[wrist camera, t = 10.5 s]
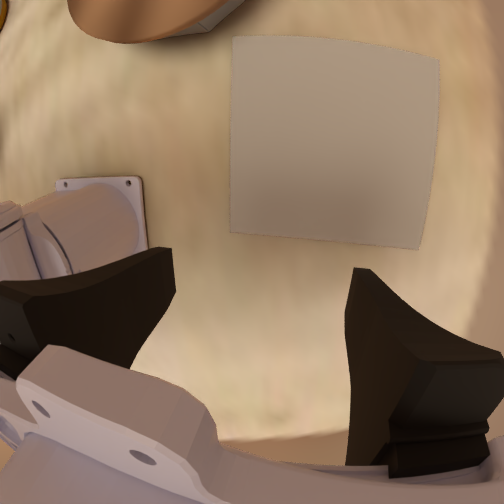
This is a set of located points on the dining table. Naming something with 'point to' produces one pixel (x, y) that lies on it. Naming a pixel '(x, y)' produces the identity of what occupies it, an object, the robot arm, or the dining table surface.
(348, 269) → the dining table surface
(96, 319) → the robot arm
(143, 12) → the lid
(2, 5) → the bottle
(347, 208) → the mat
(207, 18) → the bowl
